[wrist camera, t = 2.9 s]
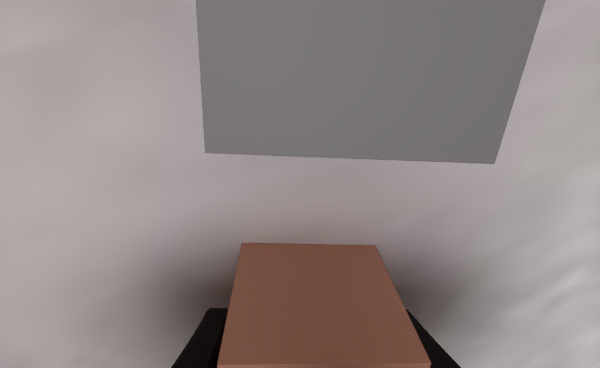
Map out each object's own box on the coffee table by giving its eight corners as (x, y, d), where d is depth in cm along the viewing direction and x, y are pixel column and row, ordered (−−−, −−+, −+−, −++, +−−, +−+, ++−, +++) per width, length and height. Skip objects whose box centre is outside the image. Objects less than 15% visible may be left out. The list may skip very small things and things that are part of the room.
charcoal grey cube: (397, 112, 10) (493, 164, 6) (240, 104, 10) (205, 152, 5) (431, -82, 8) (621, -246, 4) (237, -101, 8) (177, -310, 3)
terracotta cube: (357, 339, 14) (394, 481, 9) (243, 340, 14) (224, 487, 9) (374, 244, 12) (431, 363, 8) (242, 241, 12) (217, 365, 7)
